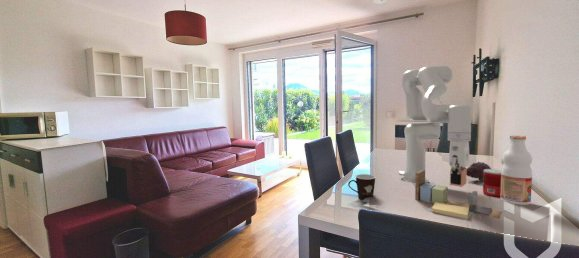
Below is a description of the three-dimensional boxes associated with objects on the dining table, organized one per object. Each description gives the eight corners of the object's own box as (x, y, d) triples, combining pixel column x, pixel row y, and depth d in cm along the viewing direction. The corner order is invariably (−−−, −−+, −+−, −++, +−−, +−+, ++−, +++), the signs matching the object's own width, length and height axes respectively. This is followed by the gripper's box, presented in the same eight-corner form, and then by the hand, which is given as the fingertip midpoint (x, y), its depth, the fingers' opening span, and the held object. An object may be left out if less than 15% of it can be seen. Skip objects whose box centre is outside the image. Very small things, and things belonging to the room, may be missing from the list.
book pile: (426, 214, 98) (426, 206, 98) (434, 207, 105) (434, 200, 104) (466, 224, 89) (467, 216, 89) (472, 216, 95) (473, 208, 95)
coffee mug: (375, 195, 121) (375, 174, 120) (375, 202, 112) (375, 179, 112) (350, 193, 124) (350, 173, 124) (348, 199, 116) (347, 178, 115)
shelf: (415, 202, 110) (415, 173, 109) (422, 198, 116) (422, 169, 115) (499, 222, 90) (500, 186, 89) (502, 215, 96) (503, 181, 95)
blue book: (420, 200, 109) (420, 186, 109) (425, 196, 114) (425, 182, 113) (430, 202, 107) (430, 188, 106) (435, 198, 111) (435, 184, 111)
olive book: (431, 202, 106) (431, 188, 106) (436, 198, 111) (437, 184, 110) (442, 205, 103) (442, 190, 103) (447, 200, 108) (447, 186, 107)
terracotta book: (466, 183, 102) (466, 168, 102) (462, 187, 98) (462, 171, 97) (454, 181, 105) (454, 166, 105) (450, 184, 101) (450, 169, 100)
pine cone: (469, 183, 134) (469, 164, 133) (457, 178, 144) (457, 160, 143) (503, 182, 134) (504, 163, 133) (489, 177, 144) (489, 159, 143)
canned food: (509, 198, 113) (510, 173, 112) (488, 197, 114) (489, 172, 113) (498, 192, 120) (499, 169, 119) (479, 191, 122) (480, 168, 121)
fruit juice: (495, 199, 112) (498, 134, 109) (522, 200, 109) (525, 134, 107) (506, 207, 103) (509, 137, 101) (536, 209, 100) (539, 137, 98)
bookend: (468, 211, 97) (469, 195, 96) (472, 205, 102) (473, 190, 101) (488, 215, 92) (489, 199, 92) (492, 209, 97) (492, 194, 97)
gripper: (464, 139, 91) (463, 189, 93) (475, 135, 103) (474, 179, 105) (441, 138, 97) (440, 185, 98) (454, 134, 109) (453, 176, 110)
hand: (458, 181), depth 101 cm, fingers closed on terracotta book, 6 cm apart
